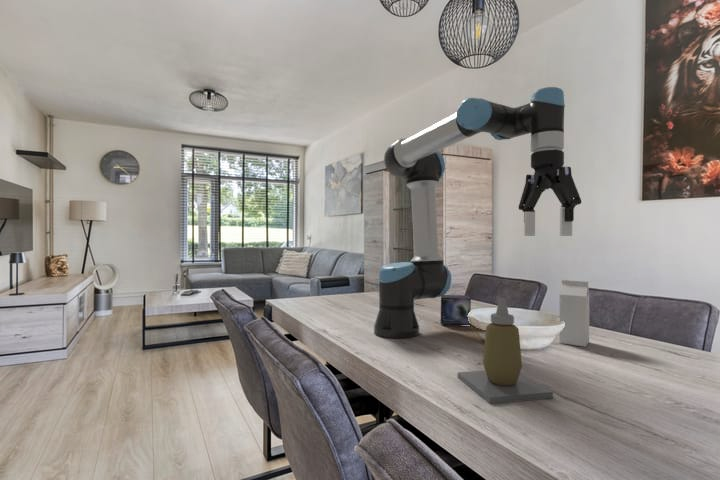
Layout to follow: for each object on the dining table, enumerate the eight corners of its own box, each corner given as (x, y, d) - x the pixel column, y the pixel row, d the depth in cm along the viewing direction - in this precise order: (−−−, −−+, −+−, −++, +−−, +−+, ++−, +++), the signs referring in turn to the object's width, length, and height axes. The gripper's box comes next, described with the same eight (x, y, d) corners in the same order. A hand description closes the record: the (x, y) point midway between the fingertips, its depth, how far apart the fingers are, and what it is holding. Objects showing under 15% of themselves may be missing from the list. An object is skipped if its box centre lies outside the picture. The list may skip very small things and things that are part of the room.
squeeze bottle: (493, 371, 89) (493, 294, 89) (528, 381, 83) (528, 298, 83) (475, 381, 83) (475, 298, 83) (512, 391, 78) (512, 303, 77)
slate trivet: (457, 377, 89) (457, 372, 89) (512, 373, 92) (512, 368, 91) (489, 403, 75) (489, 397, 75) (552, 397, 78) (552, 391, 78)
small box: (440, 325, 140) (441, 297, 140) (440, 321, 146) (440, 294, 146) (471, 327, 138) (471, 297, 138) (468, 322, 145) (469, 295, 145)
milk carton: (585, 347, 113) (586, 282, 113) (559, 343, 117) (559, 281, 117) (589, 342, 118) (589, 280, 118) (563, 338, 123) (563, 279, 123)
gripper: (599, 140, 86) (599, 235, 86) (529, 161, 110) (528, 235, 110) (570, 138, 84) (569, 235, 84) (505, 160, 109) (505, 235, 109)
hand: (546, 236), depth 97 cm, fingers open, 13 cm apart
